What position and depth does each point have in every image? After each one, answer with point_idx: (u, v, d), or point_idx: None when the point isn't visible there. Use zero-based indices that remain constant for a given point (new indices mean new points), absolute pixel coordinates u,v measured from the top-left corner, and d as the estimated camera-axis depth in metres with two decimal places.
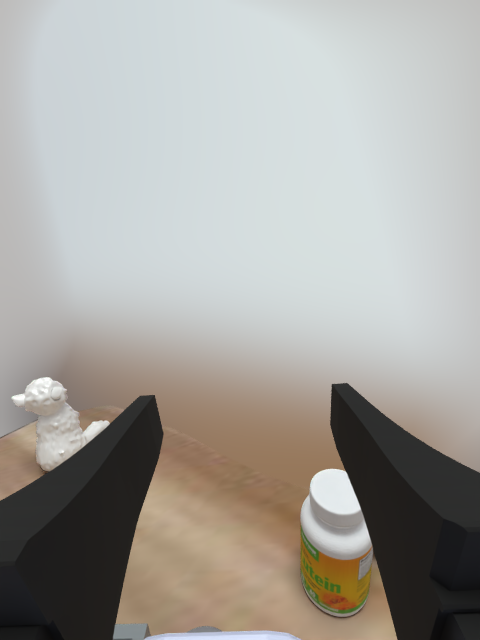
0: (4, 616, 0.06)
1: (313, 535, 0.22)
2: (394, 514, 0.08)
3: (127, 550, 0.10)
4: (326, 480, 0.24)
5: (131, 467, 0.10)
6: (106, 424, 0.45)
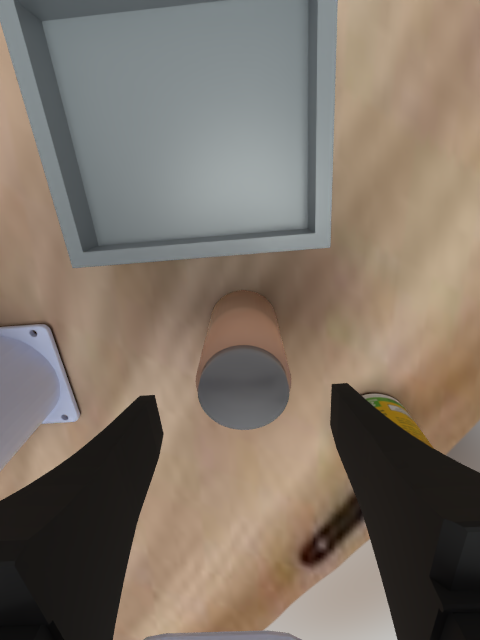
0: (4, 616, 0.06)
1: None
2: (394, 514, 0.08)
3: (127, 550, 0.10)
4: None
5: (131, 467, 0.10)
6: None
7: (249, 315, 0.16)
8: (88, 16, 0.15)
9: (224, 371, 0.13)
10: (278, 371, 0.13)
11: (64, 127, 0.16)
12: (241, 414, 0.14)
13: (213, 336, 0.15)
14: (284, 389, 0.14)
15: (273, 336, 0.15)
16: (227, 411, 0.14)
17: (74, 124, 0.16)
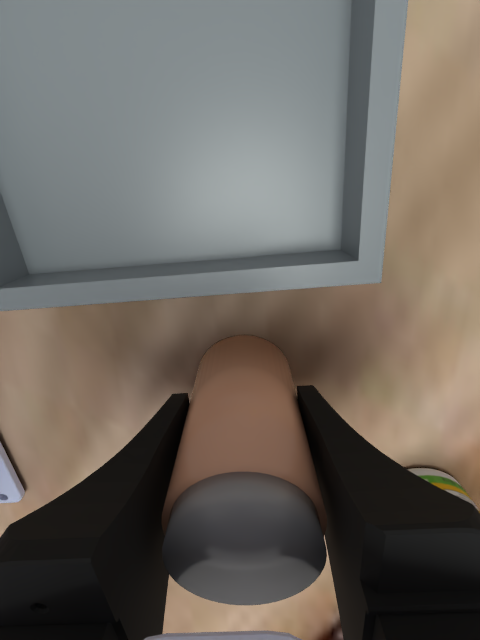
0: (72, 614, 0.06)
1: None
2: (338, 516, 0.08)
3: None
4: None
5: (171, 465, 0.10)
6: None
7: (253, 391, 0.10)
8: None
9: (209, 527, 0.07)
10: (309, 527, 0.07)
11: None
12: (240, 585, 0.08)
13: (194, 435, 0.09)
14: (318, 552, 0.08)
15: (293, 435, 0.09)
16: (215, 581, 0.08)
17: None
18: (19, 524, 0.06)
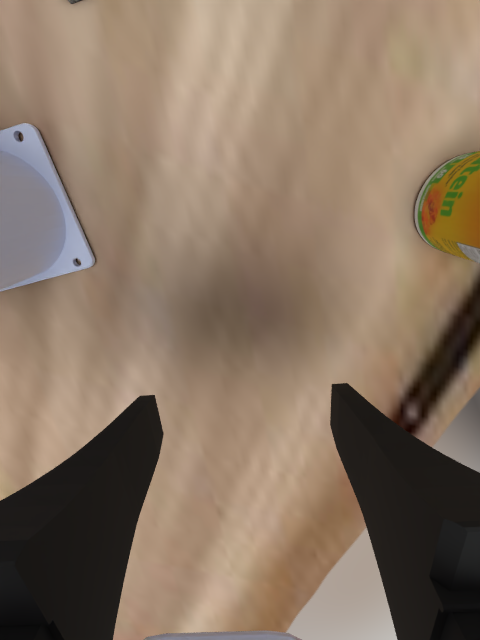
0: (4, 616, 0.06)
1: None
2: (394, 514, 0.08)
3: (127, 550, 0.10)
4: None
5: (131, 467, 0.10)
6: None
7: None
8: None
9: None
10: None
11: None
12: None
13: None
14: None
15: None
16: None
17: None
18: None
